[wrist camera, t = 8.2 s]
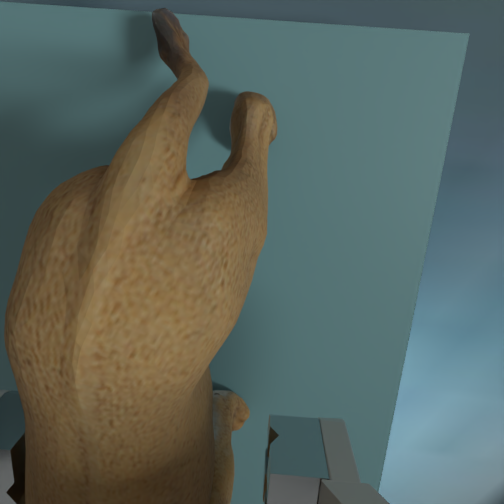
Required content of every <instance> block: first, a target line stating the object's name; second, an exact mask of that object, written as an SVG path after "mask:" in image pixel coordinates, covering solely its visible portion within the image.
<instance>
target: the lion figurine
mask: <svg viewBox="0 0 504 504" xmlns="http://www.w3.org/2000/svg"><path fill="white" fill-rule="evenodd" d="M152 23H153V27H154V30H155V33H156V37H157V44H158V52H159V56H160V58H161V59H162V60H163V62H164V63H165V64H166V65H167V66H168V67H169V68H170V69H171V71H172V72H173V74H174V75H175V76H176V78H177V81H176V82H174V83H173V85H172V86H171V87H170V88H169V89H167V90H166V91H165V92H164V93H162V94H161V96H160V97H159V98H158V99H157V100H156V101H155V102H154V104H153V105H152V106H151V107H150V108H149V110H148V111H147V112H146V114H145V115H144V117H143V118H142V120H141V121H140V122H139V123H138V124H137V125H136V126H135V127H134V128H133V129H132V130H131V131H130V133H129V134H128V136H127V137H126V139H125V140H124V142H123V143H122V144H121V146H120V147H119V149H118V150H117V152H116V154H115V155H114V157H113V159H112V161H111V163H110V165H104V166H99V167H96V168H93V169H90V170H87V171H84V172H81V173H79V174H78V175H76V176H74V177H72V178H70V179H68V180H67V181H65V182H63V183H61V184H60V185H59V186H57V187H56V188H55V189H54V190H53V191H52V192H51V193H50V194H49V195H48V196H47V197H46V199H45V200H44V201H43V203H42V204H41V206H40V207H39V208H38V210H37V211H36V213H35V215H34V218H33V220H32V222H31V224H30V226H29V229H28V233H27V236H26V239H25V243H24V246H23V249H22V253H21V257H20V261H19V265H18V269H17V273H16V276H15V279H14V283H13V286H12V289H11V292H10V295H9V298H8V302H7V308H6V313H5V328H4V340H5V348H6V351H7V355H8V358H9V362H10V365H11V368H12V371H13V374H14V378H15V381H16V385H17V388H18V392H19V396H20V400H21V404H22V407H23V411H24V417H25V446H26V458H25V504H230V502H231V498H232V491H233V483H234V454H233V450H232V445H231V437H232V431H237V430H239V429H240V428H241V427H242V426H243V424H244V422H245V421H246V420H247V419H248V418H249V415H250V410H249V408H248V406H247V405H246V403H245V402H244V400H243V399H242V398H241V397H239V396H238V395H237V394H236V393H234V392H232V391H226V390H215V391H213V390H212V380H211V374H210V368H209V364H210V362H211V361H212V359H213V357H214V356H215V355H216V353H217V352H218V350H219V349H220V347H221V346H222V344H223V343H224V342H225V340H226V339H227V337H228V336H229V334H230V332H231V331H232V329H233V328H234V326H235V324H236V322H237V320H238V317H239V315H240V312H241V310H242V307H243V305H244V302H245V299H246V296H247V293H248V291H249V288H250V285H251V282H252V279H253V275H254V271H255V267H256V263H257V259H258V257H259V254H260V252H261V250H262V248H263V245H264V242H265V239H266V236H267V215H268V178H267V159H268V148H269V145H270V144H271V142H272V141H273V140H275V138H276V136H277V120H276V114H275V111H274V108H273V106H272V105H271V103H270V101H269V99H268V98H266V97H265V96H264V95H261V94H259V93H255V92H250V91H246V92H242V93H240V94H239V95H238V96H237V97H236V99H235V102H234V108H233V111H232V114H231V119H230V126H229V130H230V136H231V153H230V156H229V158H228V159H227V160H226V162H225V163H224V165H223V167H222V169H221V170H216V171H213V172H211V173H209V174H206V175H202V176H200V177H198V178H193V179H190V178H189V177H188V174H187V170H186V157H187V149H188V141H189V137H190V134H191V131H192V129H193V126H194V124H195V123H196V121H197V119H198V117H199V115H200V113H201V110H202V108H203V106H204V103H205V100H206V96H207V93H208V87H209V81H208V78H207V76H206V74H205V72H204V71H203V70H202V69H201V67H200V66H199V65H198V63H197V62H196V60H195V59H194V58H193V57H192V56H191V54H190V52H189V36H188V35H187V34H186V33H185V32H184V31H183V29H182V27H181V25H180V22H179V20H178V18H177V17H176V16H175V15H174V14H173V12H171V11H169V10H168V9H166V8H162V9H156V10H155V11H153V12H152Z"/></svg>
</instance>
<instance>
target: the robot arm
mask: <svg viewBox="0 0 504 504" xmlns="http://www.w3.org/2000/svg"><path fill="white" fill-rule="evenodd" d="M25 458H26V446H25V417H24V411H23V407H22V404H21V400H20V396H19V392H18V391H13V390H12V391H9V390H1V389H0V504H25ZM263 502H264V504H389V503H388V502H387V501H386V500H385V499H384V498H383V497H382V496H381V495H380V494H379V493H378V492H377V491H376V490H375V489H374V488H373V487H372V486H371V485H370V484H367V483H361V480H360V476H359V472H358V469H357V465H356V461H355V457H354V454H353V450H352V446H351V442H350V438H349V435H348V431H347V427H346V423H345V421H344V420H343V419H338V418H321V417H318V418H310V417H298V416H285V415H273V414H269V421H268V430H267V448H266V450H265V463H264V476H263Z"/></svg>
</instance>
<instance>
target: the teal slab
mask: <svg viewBox="0 0 504 504" xmlns="http://www.w3.org/2000/svg"><path fill="white" fill-rule="evenodd" d="M174 15H175V16H176V17H177V18H178V20H179V22H180V25H181V27H182V29H183V31H184V32H185V33H186V34H187V35H188V36H189V52H190V54H191V56H192V57H193V58H194V59H195V60H196V62H197V63H198V65H199V66H200V67H201V69H202V70H203V71H204V72H205V74H206V76H207V78H208V81H209V87H208V93H207V96H206V100H205V103H204V106H203V108H202V110H201V113H200V115H199V117H198V119H197V121H196V123H195V124H194V126H193V129H192V131H191V134H190V137H189V141H188V149H187V157H186V170H187V174H188V177H189V178H190V179H193V178H198V177H200V176H202V175H206V174H209V173H211V172H213V171H216V170H221V169H222V167H223V165H224V163H225V162H226V160H227V159H228V158H229V156H230V153H231V136H230V130H229V126H230V119H231V114H232V111H233V108H234V102H235V99H236V97H237V96H238V95H239V94H240V93H242V92H246V91H250V92H255V93H259V94H261V95H264V96H265V97H266V98H268V99H269V101H270V103H271V105H272V106H273V108H274V111H275V114H276V120H277V136H276V138H275V140H273V141H272V142H271V144H270V145H269V148H268V159H267V178H268V215H267V236H266V239H265V242H264V245H263V248H262V250H261V252H260V254H259V257H258V259H257V263H256V267H255V271H254V275H253V279H252V282H251V285H250V288H249V291H248V293H247V296H246V299H245V302H244V305H243V307H242V310H241V312H240V315H239V317H238V320H237V322H236V324H235V326H234V328H233V329H232V331H231V332H230V334H229V336H228V337H227V339H226V340H225V342H224V343H223V344H222V346H221V347H220V349H219V350H218V352H217V353H216V355H215V356H214V357H213V359H212V361H211V362H210V364H209V368H210V374H211V380H212V390H213V391H215V390H226V391H232V392H234V393H236V394H237V395H238V396H239V397H241V398H242V399H243V400H244V402H245V403H246V405H247V406H248V408H249V410H250V415H249V418H248V419H247V420H246V421H245V422H244V424H243V426H242V427H241V428H240V429H239V430H237V431H232V437H231V445H232V450H233V454H234V483H233V491H232V498H231V502H230V504H264V502H263V476H264V463H265V450H266V448H267V430H268V421H269V414H273V415H285V416H298V417H310V418H318V417H321V418H338V419H343V420H344V421H345V423H346V427H347V431H348V435H349V438H350V442H351V446H352V450H353V454H354V457H355V461H356V465H357V469H358V472H359V476H360V480H361V483H367V484H370V485H371V486H372V487H373V488H374V489H375V490H376V491H377V492H378V490H379V485H380V480H381V475H382V470H383V465H384V460H385V455H386V450H387V445H388V440H389V435H390V430H391V425H392V420H393V415H394V410H395V405H396V400H397V395H398V390H399V385H400V380H401V375H402V370H403V365H404V360H405V355H406V350H407V345H408V340H409V335H410V330H411V325H412V320H413V315H414V310H415V305H416V300H417V295H418V290H419V285H420V280H421V275H422V269H423V264H424V259H425V254H426V249H427V244H428V239H429V234H430V229H431V224H432V219H433V214H434V209H435V204H436V199H437V194H438V189H439V184H440V179H441V174H442V169H443V164H444V159H445V154H446V149H447V144H448V139H449V134H450V129H451V124H452V119H453V114H454V109H455V104H456V99H457V94H458V89H459V84H460V79H461V74H462V69H463V64H464V59H465V54H466V49H467V44H468V39H469V34H466V33H451V32H437V31H422V30H408V29H393V28H378V27H364V26H349V25H334V24H320V23H305V22H290V21H276V20H261V19H247V18H232V17H217V16H203V15H188V14H174ZM176 81H177V78H176V76H175V75H174V74H173V72H172V71H171V69H170V68H169V67H168V66H167V65H166V64H165V63H164V62H163V60H162V59H161V58H160V56H159V52H158V44H157V37H156V33H155V30H154V27H153V23H152V12H144V11H130V10H115V9H100V8H86V7H71V6H56V5H42V4H27V3H12V2H0V389H1V390H9V391H12V390H13V391H18V388H17V385H16V381H15V378H14V374H13V371H12V368H11V365H10V362H9V358H8V355H7V351H6V348H5V340H4V328H5V313H6V308H7V302H8V298H9V295H10V292H11V289H12V286H13V283H14V279H15V276H16V273H17V269H18V265H19V261H20V257H21V253H22V249H23V246H24V243H25V239H26V236H27V233H28V229H29V226H30V224H31V222H32V220H33V218H34V215H35V213H36V211H37V210H38V208H39V207H40V206H41V204H42V203H43V201H44V200H45V199H46V197H47V196H48V195H49V194H50V193H51V192H52V191H53V190H54V189H55V188H56V187H57V186H59V185H60V184H61V183H63V182H65V181H67V180H68V179H70V178H72V177H74V176H76V175H78V174H79V173H81V172H84V171H87V170H90V169H93V168H96V167H99V166H104V165H110V163H111V161H112V159H113V157H114V155H115V154H116V152H117V150H118V149H119V147H120V146H121V144H122V143H123V142H124V140H125V139H126V137H127V136H128V134H129V133H130V131H131V130H132V129H133V128H134V127H135V126H136V125H137V124H138V123H139V122H140V121H141V120H142V118H143V117H144V115H145V114H146V112H147V111H148V110H149V108H150V107H151V106H152V105H153V104H154V102H155V101H156V100H157V99H158V98H159V97H160V96H161V94H162V93H164V92H165V91H166V90H167V89H169V88H170V87H171V86H172V85H173V83H174V82H176Z"/></svg>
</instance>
